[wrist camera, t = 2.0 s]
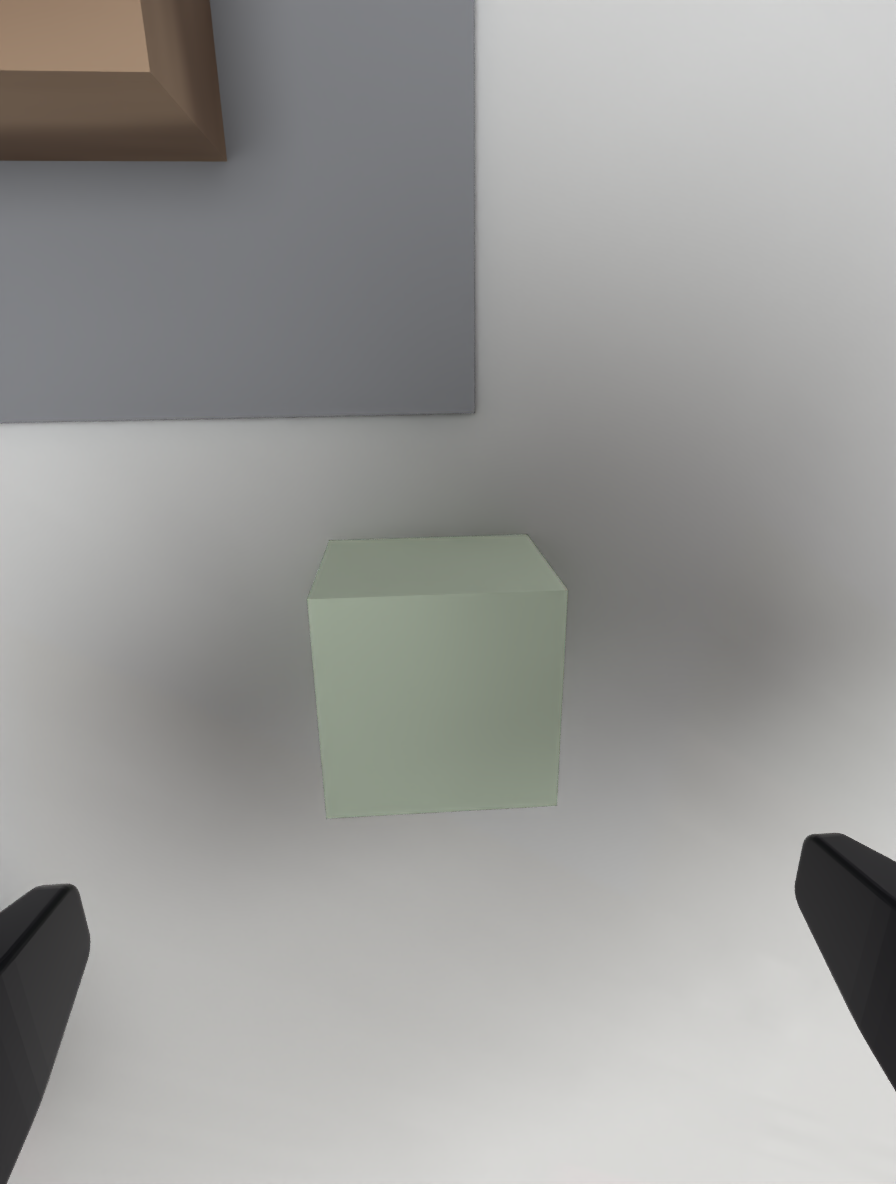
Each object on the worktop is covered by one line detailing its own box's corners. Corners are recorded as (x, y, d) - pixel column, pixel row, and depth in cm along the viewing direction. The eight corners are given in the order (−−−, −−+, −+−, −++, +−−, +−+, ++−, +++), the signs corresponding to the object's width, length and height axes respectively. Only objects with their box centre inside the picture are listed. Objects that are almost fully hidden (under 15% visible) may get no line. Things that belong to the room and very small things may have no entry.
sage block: (521, 705, 17) (556, 805, 13) (342, 713, 17) (326, 818, 13) (526, 533, 15) (567, 590, 12) (329, 539, 15) (307, 599, 11)
